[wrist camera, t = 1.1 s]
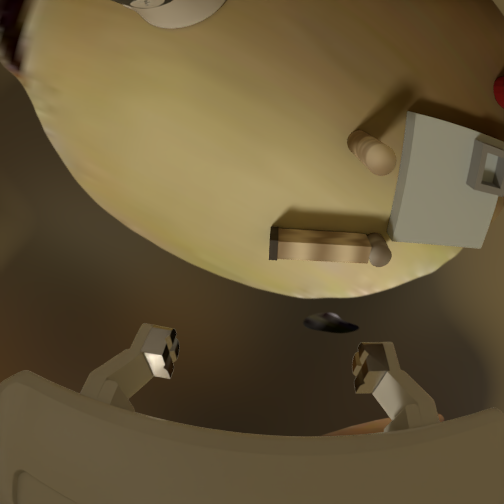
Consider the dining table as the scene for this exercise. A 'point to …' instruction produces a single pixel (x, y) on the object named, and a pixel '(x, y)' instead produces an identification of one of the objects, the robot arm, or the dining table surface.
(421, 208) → the stool seat
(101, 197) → the dining table surface
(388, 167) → the leg peg
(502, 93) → the plastic cup
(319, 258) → the hinged leg
